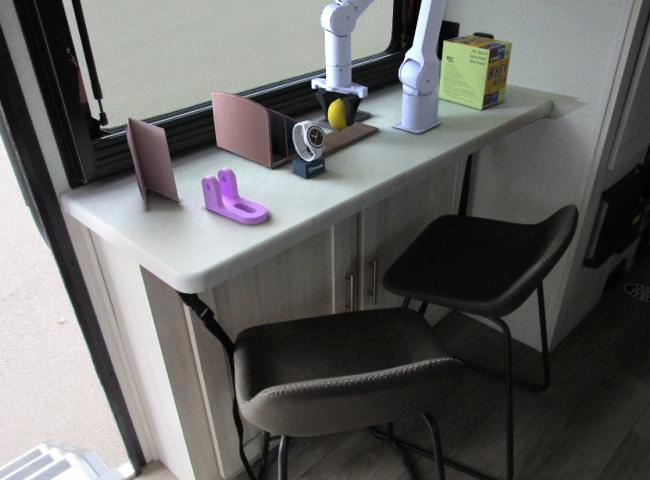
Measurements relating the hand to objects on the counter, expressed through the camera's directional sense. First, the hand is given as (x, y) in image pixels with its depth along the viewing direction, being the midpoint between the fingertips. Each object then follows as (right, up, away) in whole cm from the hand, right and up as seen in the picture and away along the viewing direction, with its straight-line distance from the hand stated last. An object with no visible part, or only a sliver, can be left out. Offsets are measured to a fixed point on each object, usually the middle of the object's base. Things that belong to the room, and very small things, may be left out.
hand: (339, 122), depth 137 cm
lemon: (0, -2, +1) cm, 2 cm away
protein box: (+37, +14, +25) cm, 47 cm away
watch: (-7, -15, -12) cm, 20 cm away
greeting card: (-37, -21, -19) cm, 47 cm away
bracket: (-20, -26, -26) cm, 41 cm away
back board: (0, -3, +3) cm, 4 cm away
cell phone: (+1, +5, +14) cm, 15 cm away
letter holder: (-19, -8, -2) cm, 21 cm away
